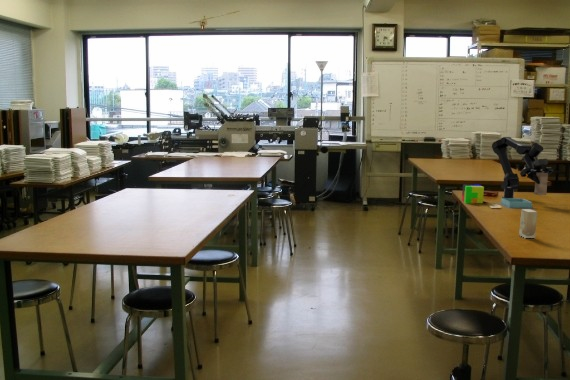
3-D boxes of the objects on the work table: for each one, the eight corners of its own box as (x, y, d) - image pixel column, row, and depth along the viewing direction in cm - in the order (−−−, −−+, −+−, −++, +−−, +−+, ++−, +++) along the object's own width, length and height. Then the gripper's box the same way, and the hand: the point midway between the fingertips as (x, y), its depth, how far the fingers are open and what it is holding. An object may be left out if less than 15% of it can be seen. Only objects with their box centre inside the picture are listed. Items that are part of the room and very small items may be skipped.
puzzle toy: (478, 201, 342) (479, 184, 340) (482, 204, 332) (483, 187, 330) (461, 200, 343) (462, 184, 341) (465, 203, 333) (466, 186, 331)
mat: (496, 203, 333) (496, 202, 333) (523, 204, 333) (523, 203, 333) (508, 209, 315) (508, 208, 315) (536, 209, 315) (536, 208, 315)
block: (534, 194, 327) (535, 172, 325) (540, 193, 328) (542, 172, 326) (539, 195, 322) (541, 173, 320) (546, 195, 323) (548, 173, 321)
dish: (500, 203, 330) (501, 198, 330) (522, 204, 330) (522, 198, 330) (509, 207, 318) (509, 201, 318) (531, 207, 318) (532, 202, 318)
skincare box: (518, 236, 249) (520, 208, 247) (527, 235, 250) (530, 208, 248) (525, 239, 243) (528, 211, 241) (535, 239, 243) (537, 211, 241)
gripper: (524, 153, 323) (536, 175, 314) (552, 153, 327) (564, 174, 319) (515, 165, 332) (525, 187, 323) (542, 165, 336) (553, 186, 327)
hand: (542, 183), depth 323 cm, fingers closed on block, 4 cm apart
